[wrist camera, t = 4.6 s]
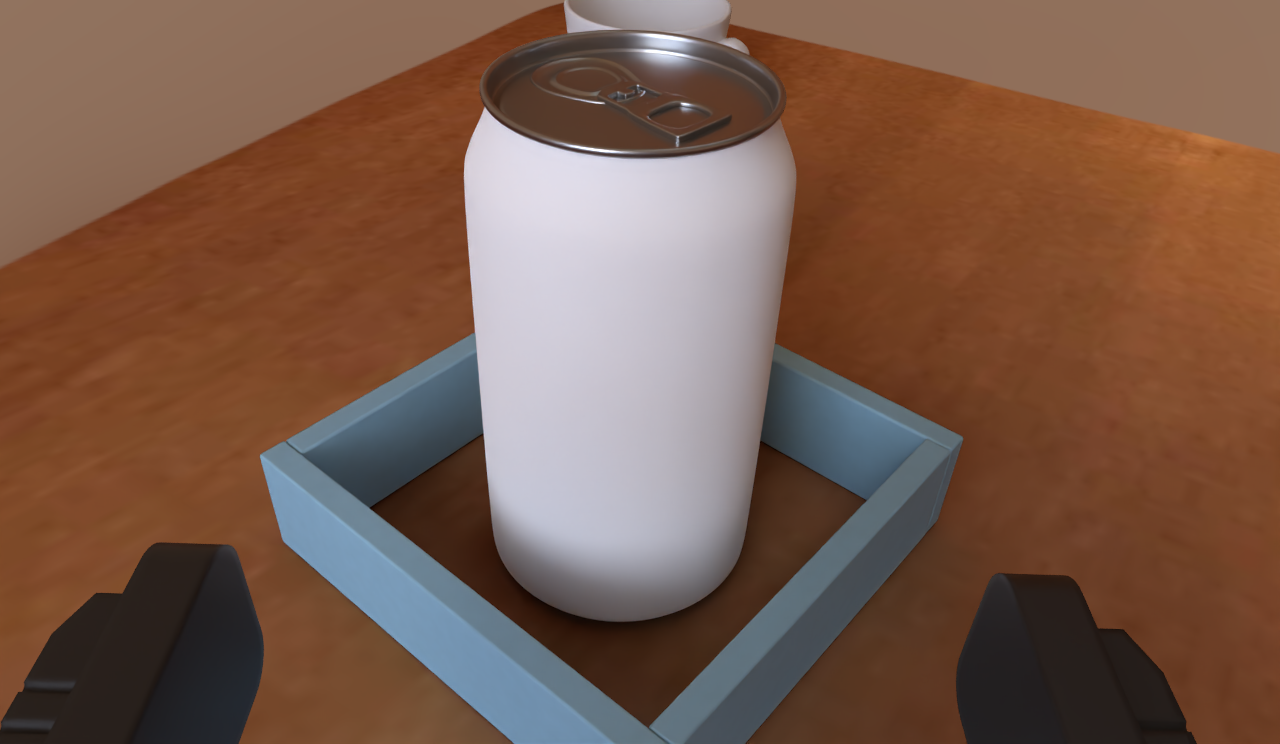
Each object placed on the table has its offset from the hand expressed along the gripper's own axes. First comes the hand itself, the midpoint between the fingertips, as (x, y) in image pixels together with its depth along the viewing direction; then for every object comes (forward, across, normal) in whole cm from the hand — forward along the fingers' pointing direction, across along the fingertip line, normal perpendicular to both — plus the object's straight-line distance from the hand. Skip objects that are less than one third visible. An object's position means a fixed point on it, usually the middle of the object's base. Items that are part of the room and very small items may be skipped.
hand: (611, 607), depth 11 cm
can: (+11, 0, +11) cm, 15 cm away
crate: (+11, 0, +10) cm, 15 cm away
